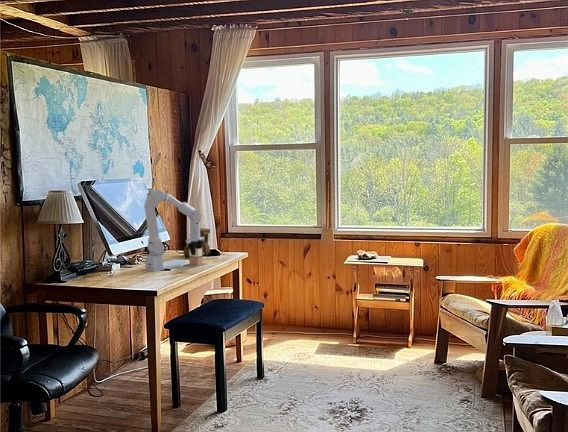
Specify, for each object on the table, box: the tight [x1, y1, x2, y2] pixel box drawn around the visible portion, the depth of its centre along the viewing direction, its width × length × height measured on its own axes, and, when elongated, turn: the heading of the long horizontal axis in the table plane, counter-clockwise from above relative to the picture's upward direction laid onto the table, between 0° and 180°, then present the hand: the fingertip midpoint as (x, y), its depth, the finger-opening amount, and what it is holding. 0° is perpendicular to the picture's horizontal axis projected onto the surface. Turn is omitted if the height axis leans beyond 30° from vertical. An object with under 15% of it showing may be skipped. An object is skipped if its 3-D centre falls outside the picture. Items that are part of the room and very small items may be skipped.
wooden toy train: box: [183, 227, 211, 258], centre depth 362 cm, size 20×11×17 cm, turn 164°
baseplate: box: [170, 256, 208, 271], centre depth 325 cm, size 21×11×5 cm, turn 152°
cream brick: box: [189, 248, 203, 257], centre depth 329 cm, size 4×6×4 cm, turn 62°
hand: (195, 254), depth 329 cm, fingers closed on cream brick, 4 cm apart
